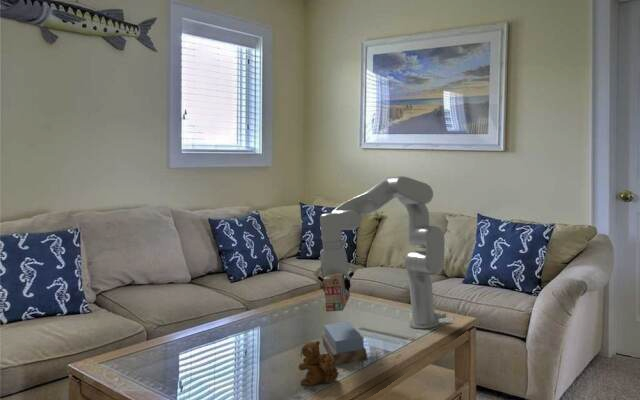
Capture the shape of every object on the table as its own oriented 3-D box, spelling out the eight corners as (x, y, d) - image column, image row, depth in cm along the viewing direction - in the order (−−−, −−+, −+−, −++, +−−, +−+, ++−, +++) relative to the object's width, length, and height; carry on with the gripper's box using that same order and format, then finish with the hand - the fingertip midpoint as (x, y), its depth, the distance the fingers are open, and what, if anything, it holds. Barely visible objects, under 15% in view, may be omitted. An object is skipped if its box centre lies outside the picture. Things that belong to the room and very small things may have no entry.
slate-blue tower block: (349, 332, 230) (348, 321, 230) (363, 349, 207) (362, 337, 207) (325, 336, 228) (324, 325, 228) (336, 353, 206) (335, 341, 205)
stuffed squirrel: (311, 373, 199) (307, 336, 199) (346, 377, 192) (342, 339, 191) (295, 384, 191) (291, 345, 190) (331, 389, 183) (327, 349, 183)
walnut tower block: (352, 342, 232) (351, 331, 231) (367, 361, 207) (365, 349, 207) (323, 346, 230) (322, 335, 230) (334, 367, 205) (333, 354, 205)
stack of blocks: (334, 297, 229) (331, 267, 228) (350, 296, 228) (347, 266, 227) (326, 311, 208) (322, 278, 207) (343, 310, 207) (339, 277, 206)
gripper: (352, 241, 221) (357, 286, 222) (308, 247, 218) (313, 292, 219) (357, 243, 214) (361, 290, 215) (311, 249, 211) (316, 296, 212)
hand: (337, 291), depth 217 cm, fingers closed on stack of blocks, 7 cm apart
